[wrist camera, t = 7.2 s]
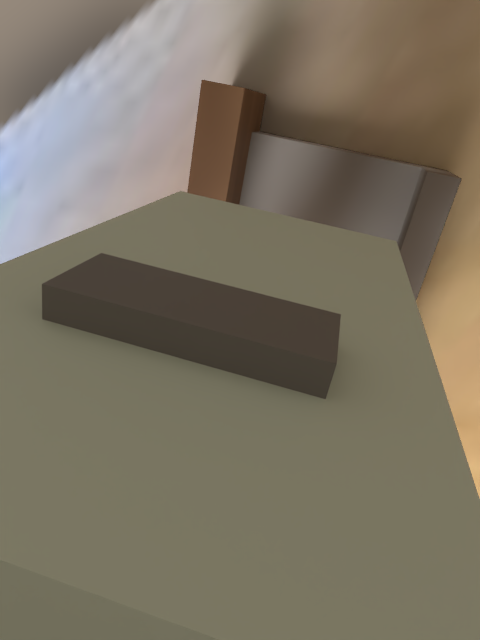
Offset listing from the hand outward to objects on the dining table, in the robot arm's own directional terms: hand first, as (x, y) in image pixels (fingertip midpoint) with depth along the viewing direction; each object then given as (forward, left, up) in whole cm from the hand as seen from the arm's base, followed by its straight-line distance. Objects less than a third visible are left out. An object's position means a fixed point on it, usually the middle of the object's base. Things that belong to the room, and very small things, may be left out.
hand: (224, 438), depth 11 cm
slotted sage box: (0, 0, -3) cm, 3 cm away
